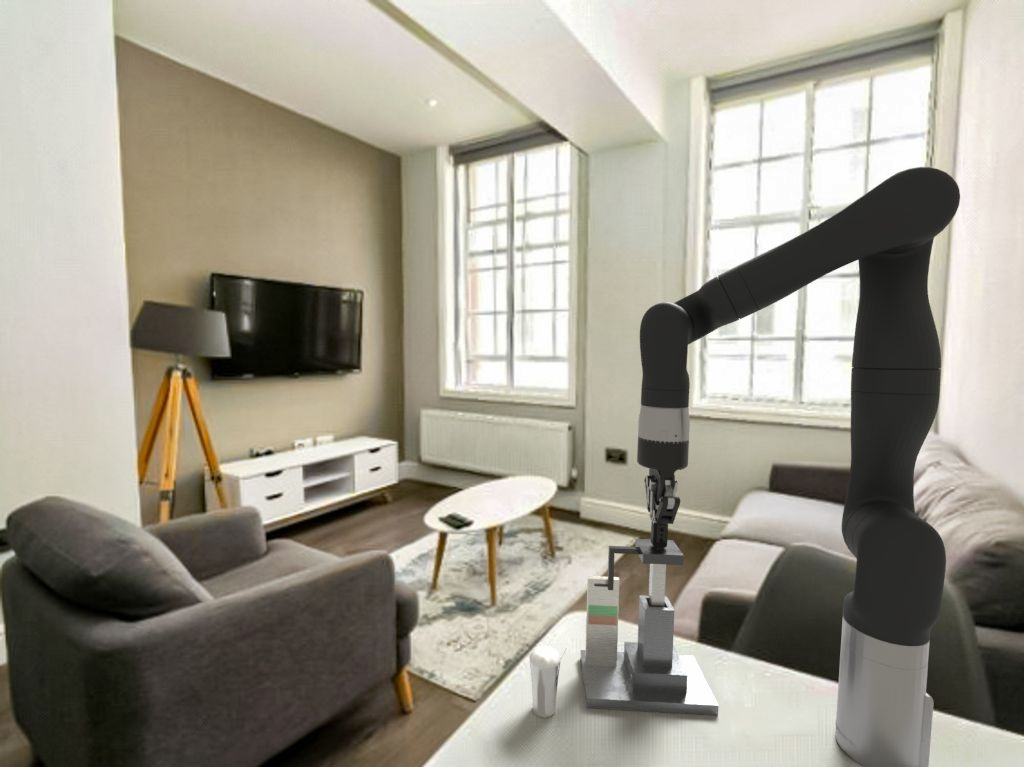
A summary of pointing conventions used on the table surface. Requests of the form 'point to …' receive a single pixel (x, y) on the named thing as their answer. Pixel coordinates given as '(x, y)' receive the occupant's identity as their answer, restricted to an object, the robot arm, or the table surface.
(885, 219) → the robot arm
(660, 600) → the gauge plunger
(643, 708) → the gauge stand
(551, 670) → the milkshake
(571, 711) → the table surface
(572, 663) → the table surface
